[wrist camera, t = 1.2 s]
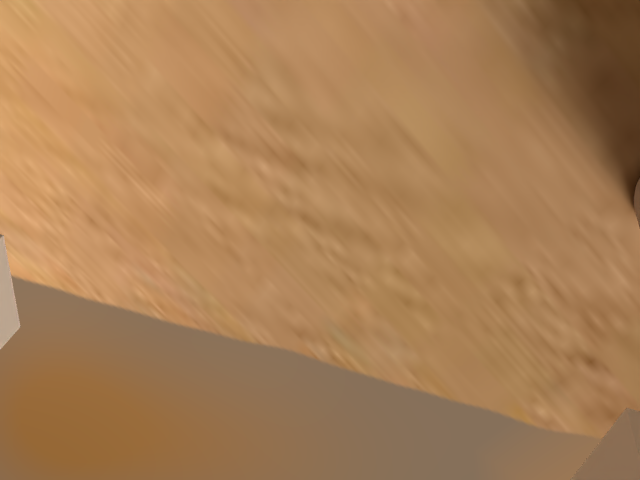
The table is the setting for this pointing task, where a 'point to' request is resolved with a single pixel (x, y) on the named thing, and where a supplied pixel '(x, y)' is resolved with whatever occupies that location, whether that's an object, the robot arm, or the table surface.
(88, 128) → the table surface
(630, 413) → the robot arm
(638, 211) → the coffee cup
